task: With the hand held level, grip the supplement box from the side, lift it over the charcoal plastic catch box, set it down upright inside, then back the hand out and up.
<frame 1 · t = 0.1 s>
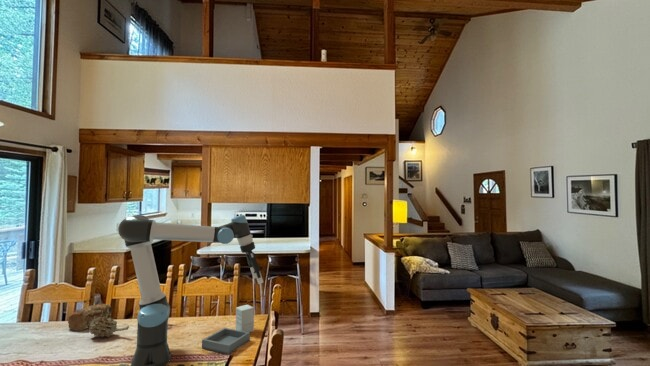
hand: (258, 280, 168), 28 cm above the table, tool tilted 20°, fingers open, 13 cm apart
supplement box: (244, 331, 169), on the table
bread: (90, 324, 179), on the table
pine cone: (110, 337, 162), on the table
catch box: (226, 344, 153), on the table
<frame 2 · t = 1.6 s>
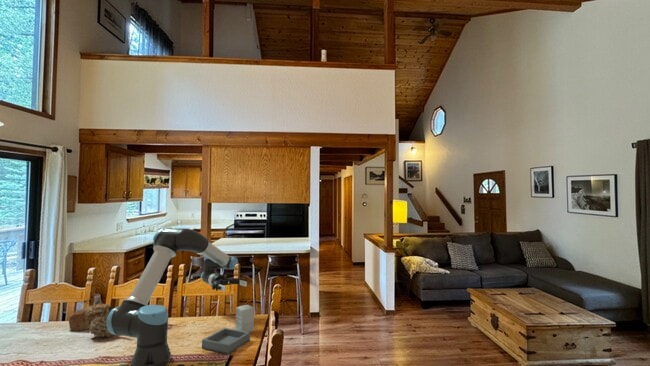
hand: (235, 286, 177), 22 cm above the table, tool horizontal, fingers open, 13 cm apart
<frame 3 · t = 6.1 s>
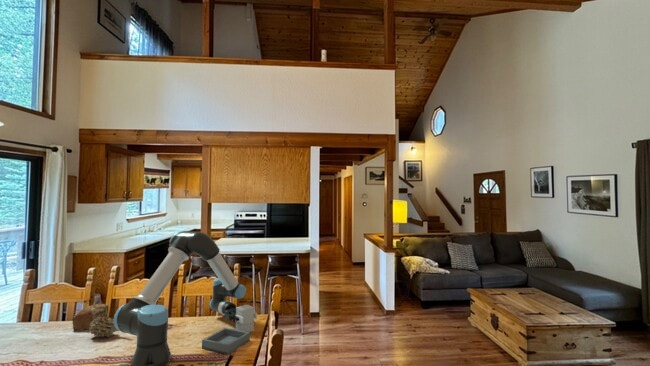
hand: (249, 318, 167), 8 cm above the table, tool horizontal, fingers closed on supplement box, 8 cm apart
supplement box: (244, 331, 170), on the table, touching gripper
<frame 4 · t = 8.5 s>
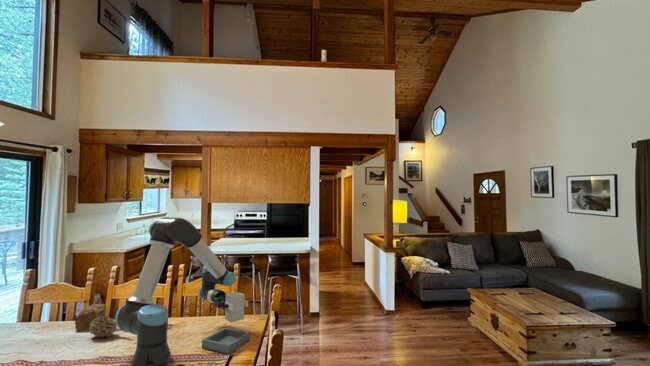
hand: (240, 305, 157), 18 cm above the table, tool horizontal, fingers closed on supplement box, 8 cm apart
supplement box: (234, 319, 160), point 10 cm above the table, touching gripper
when the fingers open (10 cm above the table, at t = 10.8 s): supplement box drops 1 cm, resting on catch box.
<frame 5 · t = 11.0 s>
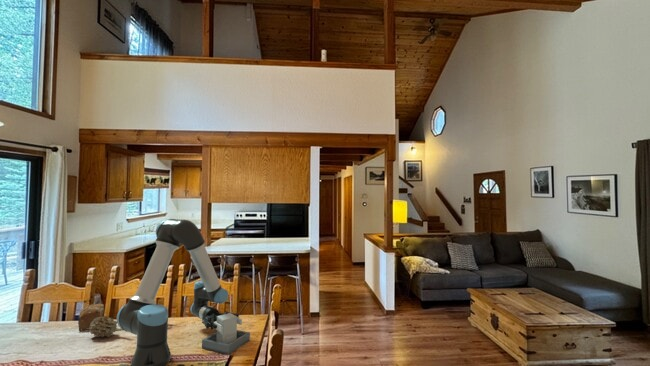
hand: (231, 325, 151), 10 cm above the table, tool horizontal, fingers open, 10 cm apart
supplement box: (226, 342, 153), point 1 cm above the table, touching catch box
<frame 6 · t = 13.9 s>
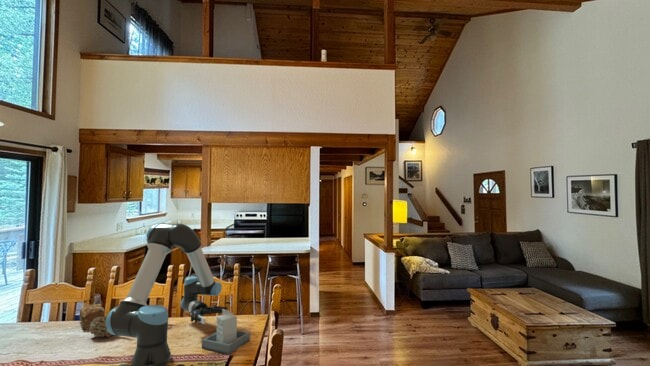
hand: (217, 317, 160), 10 cm above the table, tool horizontal, fingers open, 13 cm apart
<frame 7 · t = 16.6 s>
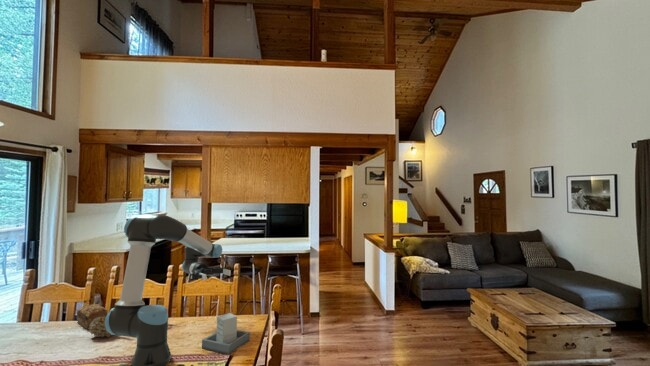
hand: (218, 275, 162), 32 cm above the table, tool horizontal, fingers open, 13 cm apart
at the end: supplement box inside the target area on the catch box (0.1 cm from its centre), point 0.8 cm above the catch box's base; supplement box tilted 0°; the gripper is holding nothing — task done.
